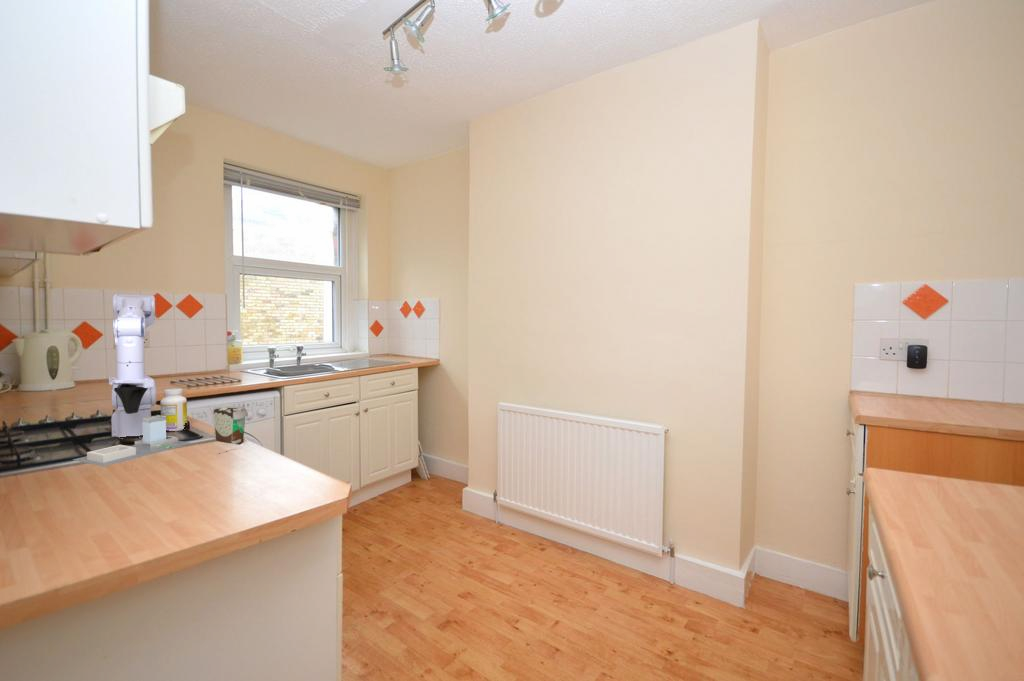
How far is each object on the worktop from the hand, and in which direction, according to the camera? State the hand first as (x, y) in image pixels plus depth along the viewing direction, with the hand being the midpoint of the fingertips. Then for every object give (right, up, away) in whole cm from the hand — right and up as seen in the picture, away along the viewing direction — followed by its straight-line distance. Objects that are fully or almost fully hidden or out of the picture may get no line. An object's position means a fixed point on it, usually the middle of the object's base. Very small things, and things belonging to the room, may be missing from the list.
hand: (131, 413), depth 120 cm
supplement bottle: (-6, -9, +23) cm, 25 cm away
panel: (+3, -11, -2) cm, 11 cm away
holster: (+1, -11, -7) cm, 13 cm away
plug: (+4, -9, +2) cm, 11 cm away
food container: (+20, -11, +12) cm, 26 cm away
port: (+5, -9, +3) cm, 11 cm away
